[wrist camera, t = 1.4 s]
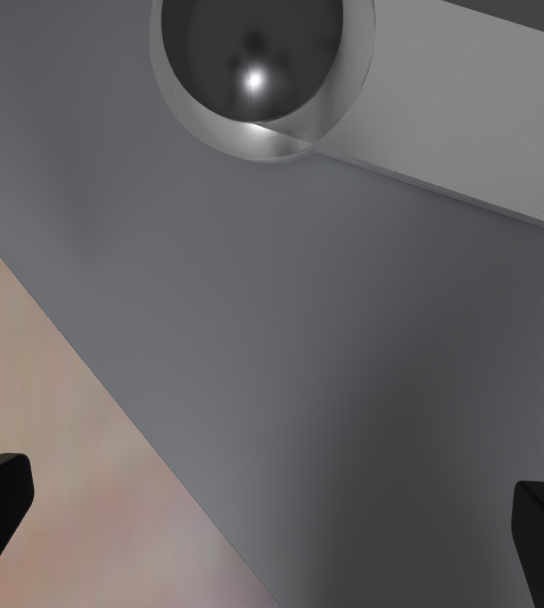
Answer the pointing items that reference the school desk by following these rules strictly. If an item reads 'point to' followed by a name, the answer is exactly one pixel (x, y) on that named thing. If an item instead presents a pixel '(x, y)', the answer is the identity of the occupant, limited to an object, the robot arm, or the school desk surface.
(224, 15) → the glossy black ball
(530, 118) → the link
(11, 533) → the robot arm
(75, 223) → the base plate
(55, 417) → the school desk surface
